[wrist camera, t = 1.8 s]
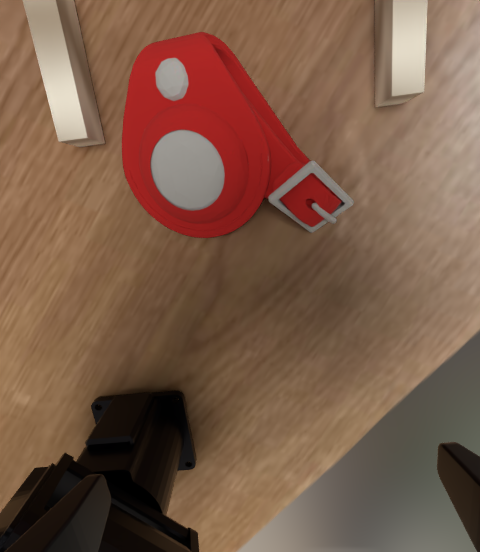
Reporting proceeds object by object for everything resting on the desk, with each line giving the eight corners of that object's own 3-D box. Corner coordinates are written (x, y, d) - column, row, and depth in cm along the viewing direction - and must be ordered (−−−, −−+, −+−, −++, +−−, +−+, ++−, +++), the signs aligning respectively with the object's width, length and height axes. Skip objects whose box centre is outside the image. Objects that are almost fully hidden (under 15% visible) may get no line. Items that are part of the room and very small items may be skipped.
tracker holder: (138, 255, 18) (67, 49, 13) (168, 227, 22) (122, 58, 17) (356, 246, 15) (368, -29, 10) (349, 215, 19) (355, 3, 14)
